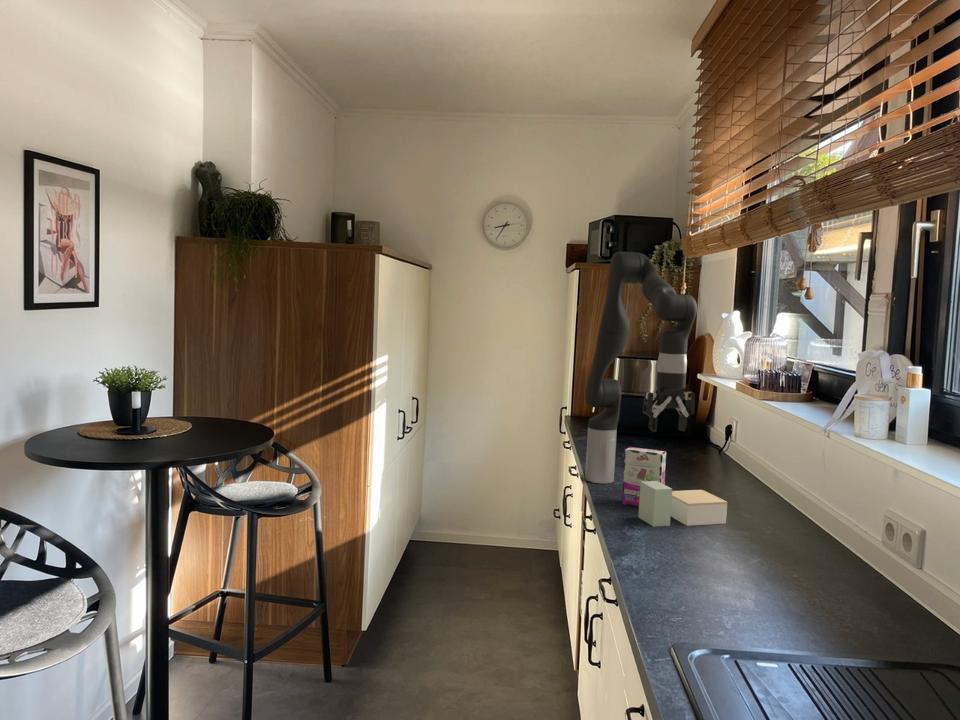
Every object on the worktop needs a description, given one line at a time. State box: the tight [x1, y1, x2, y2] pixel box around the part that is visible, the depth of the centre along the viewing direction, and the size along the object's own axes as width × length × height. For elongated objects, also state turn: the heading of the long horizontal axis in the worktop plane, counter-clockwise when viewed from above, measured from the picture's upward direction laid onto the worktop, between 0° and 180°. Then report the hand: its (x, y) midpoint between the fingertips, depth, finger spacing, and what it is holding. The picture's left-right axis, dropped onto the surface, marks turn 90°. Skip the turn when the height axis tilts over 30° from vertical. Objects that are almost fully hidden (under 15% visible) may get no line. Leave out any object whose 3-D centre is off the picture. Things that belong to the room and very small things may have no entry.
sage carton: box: [638, 481, 673, 528], centre depth 198 cm, size 8×5×10 cm, turn 17°
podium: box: [670, 489, 728, 527], centre depth 203 cm, size 12×12×6 cm
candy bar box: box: [621, 446, 667, 508], centre depth 212 cm, size 11×5×16 cm, turn 62°
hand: (667, 430), depth 196 cm, fingers open, 8 cm apart
